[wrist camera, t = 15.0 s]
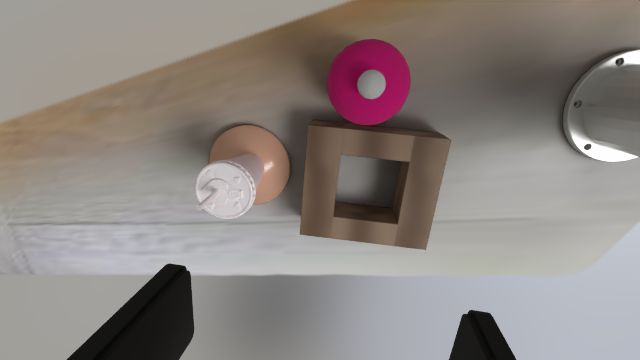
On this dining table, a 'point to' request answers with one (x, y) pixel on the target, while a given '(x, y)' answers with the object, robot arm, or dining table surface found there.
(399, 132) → the bottle holder
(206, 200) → the smoothie
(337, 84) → the pepper mill
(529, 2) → the dining table surface
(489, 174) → the dining table surface
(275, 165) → the tan round disc
